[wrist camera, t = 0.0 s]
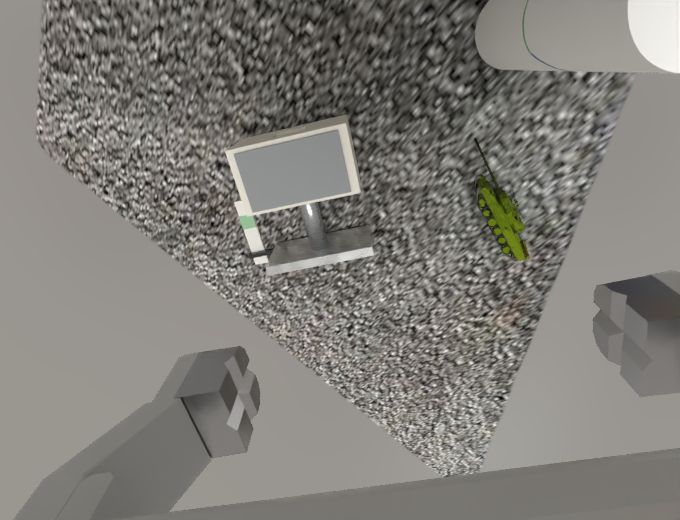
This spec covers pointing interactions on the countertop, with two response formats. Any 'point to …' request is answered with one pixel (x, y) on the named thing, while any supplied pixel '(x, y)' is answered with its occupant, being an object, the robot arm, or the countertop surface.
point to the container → (580, 35)
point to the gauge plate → (317, 245)
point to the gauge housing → (292, 171)
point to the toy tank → (501, 216)
